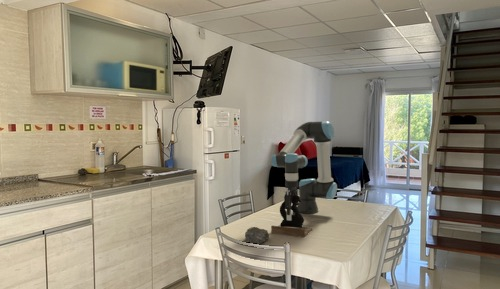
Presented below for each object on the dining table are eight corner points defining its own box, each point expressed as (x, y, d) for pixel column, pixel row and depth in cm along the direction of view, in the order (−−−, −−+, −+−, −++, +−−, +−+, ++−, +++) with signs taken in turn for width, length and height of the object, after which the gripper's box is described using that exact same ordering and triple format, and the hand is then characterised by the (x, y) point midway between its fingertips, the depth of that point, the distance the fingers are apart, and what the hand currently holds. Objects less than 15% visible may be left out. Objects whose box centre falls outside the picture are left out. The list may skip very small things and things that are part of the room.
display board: (281, 226, 228) (281, 219, 227) (312, 230, 218) (312, 222, 218) (271, 232, 214) (271, 225, 214) (304, 237, 205) (304, 229, 205)
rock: (262, 246, 192) (271, 238, 206) (262, 234, 191) (271, 227, 205) (239, 243, 196) (250, 235, 210) (240, 231, 196) (250, 224, 210)
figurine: (278, 227, 214) (278, 193, 213) (281, 223, 222) (280, 190, 221) (303, 228, 211) (303, 193, 209) (304, 224, 219) (304, 190, 218)
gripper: (292, 177, 226) (292, 213, 227) (278, 182, 207) (278, 222, 208) (303, 177, 223) (304, 214, 224) (291, 183, 204) (291, 223, 205)
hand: (292, 218), depth 216 cm, fingers closed on figurine, 9 cm apart
